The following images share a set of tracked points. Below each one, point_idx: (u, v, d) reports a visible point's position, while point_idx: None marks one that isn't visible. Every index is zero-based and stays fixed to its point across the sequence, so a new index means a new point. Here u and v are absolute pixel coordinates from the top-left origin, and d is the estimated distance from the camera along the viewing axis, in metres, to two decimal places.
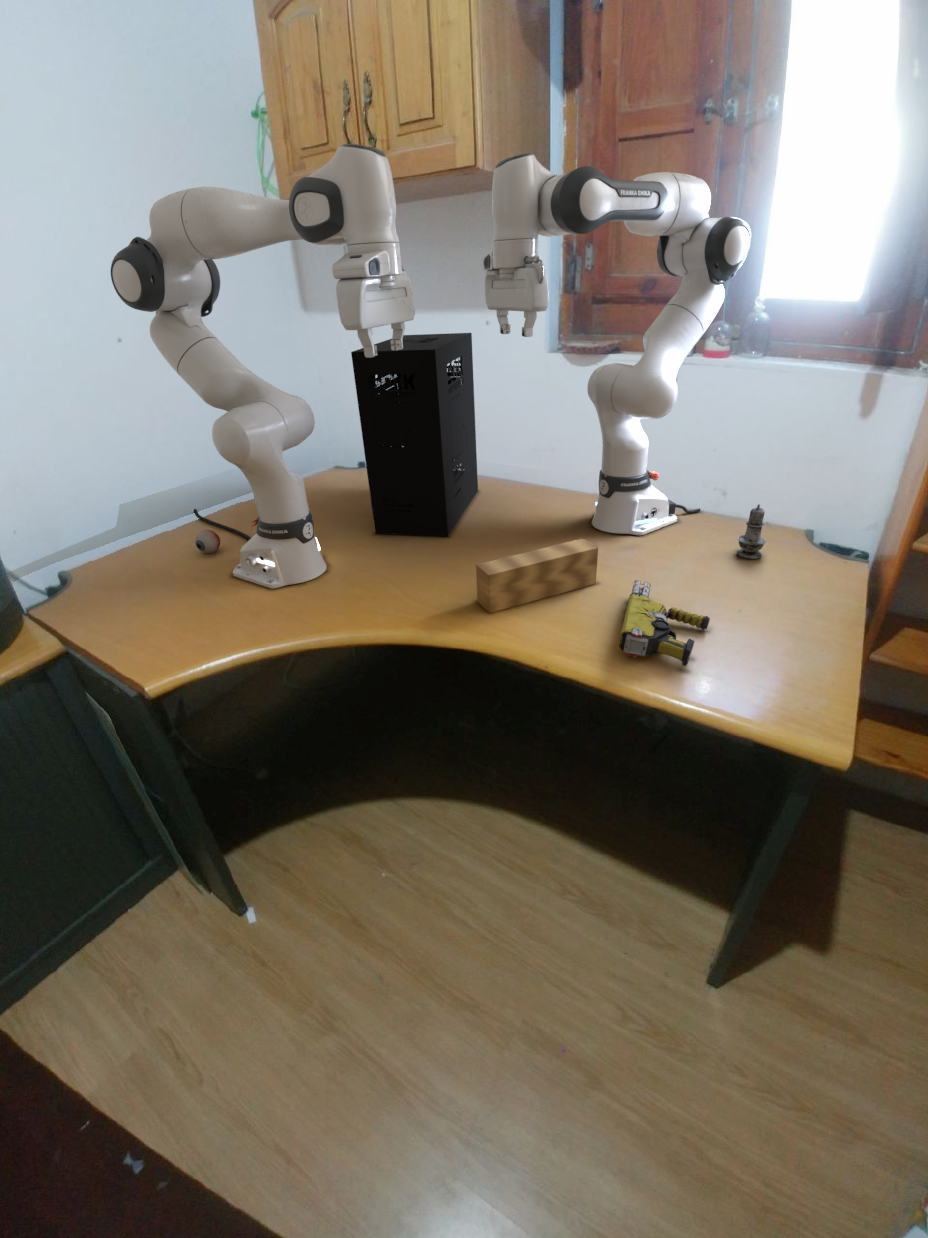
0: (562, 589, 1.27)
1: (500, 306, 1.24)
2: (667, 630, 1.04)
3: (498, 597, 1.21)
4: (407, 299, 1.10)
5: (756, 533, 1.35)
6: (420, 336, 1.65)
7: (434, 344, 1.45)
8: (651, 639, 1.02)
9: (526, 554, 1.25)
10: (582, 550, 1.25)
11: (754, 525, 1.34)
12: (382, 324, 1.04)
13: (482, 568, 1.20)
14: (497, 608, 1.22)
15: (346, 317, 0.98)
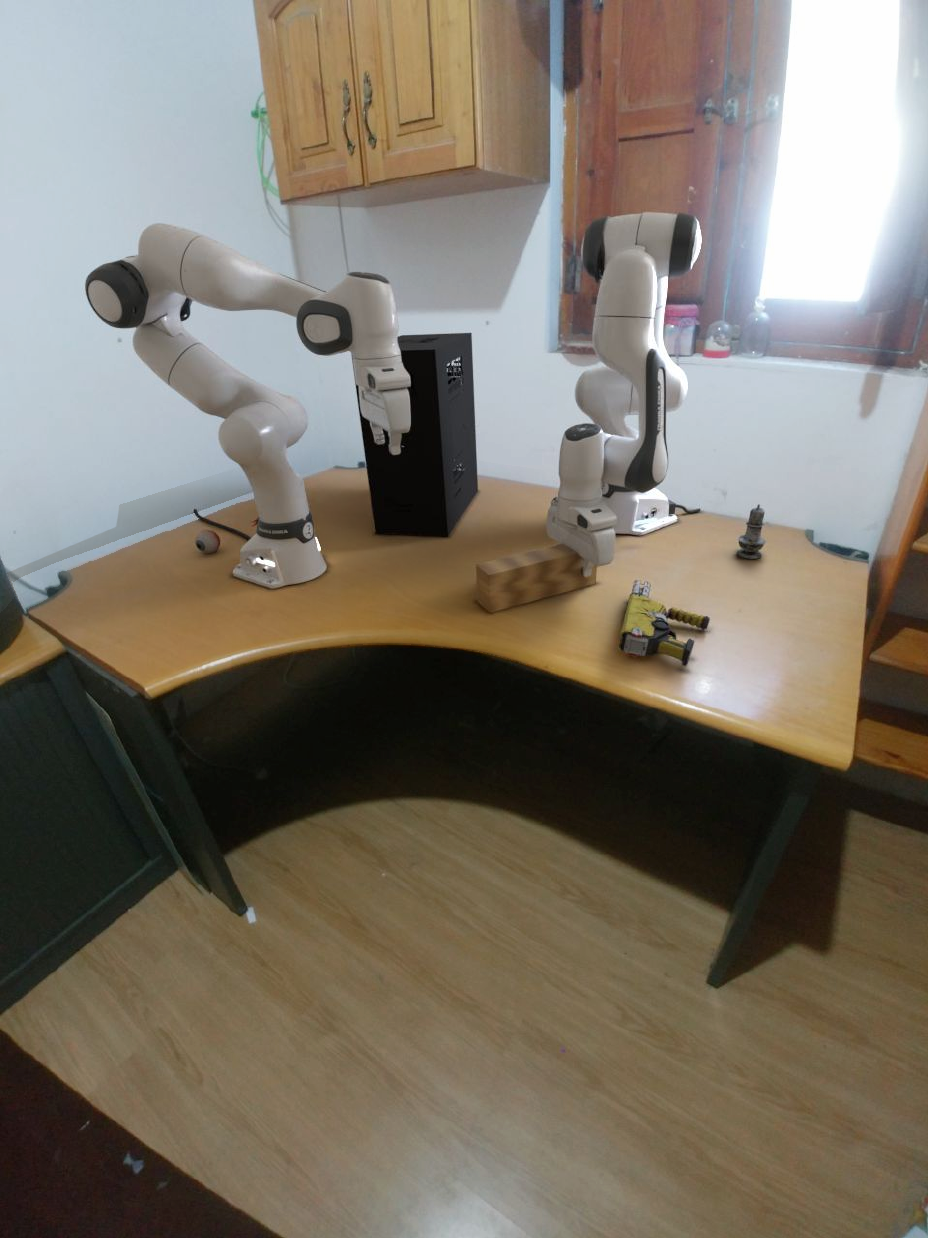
0: (562, 589, 1.27)
1: None
2: (667, 630, 1.04)
3: (498, 596, 1.21)
4: None
5: (756, 533, 1.35)
6: (420, 336, 1.65)
7: (434, 344, 1.45)
8: (651, 639, 1.02)
9: (526, 554, 1.25)
10: None
11: (754, 525, 1.34)
12: None
13: (482, 568, 1.20)
14: (497, 608, 1.22)
15: (398, 423, 1.06)
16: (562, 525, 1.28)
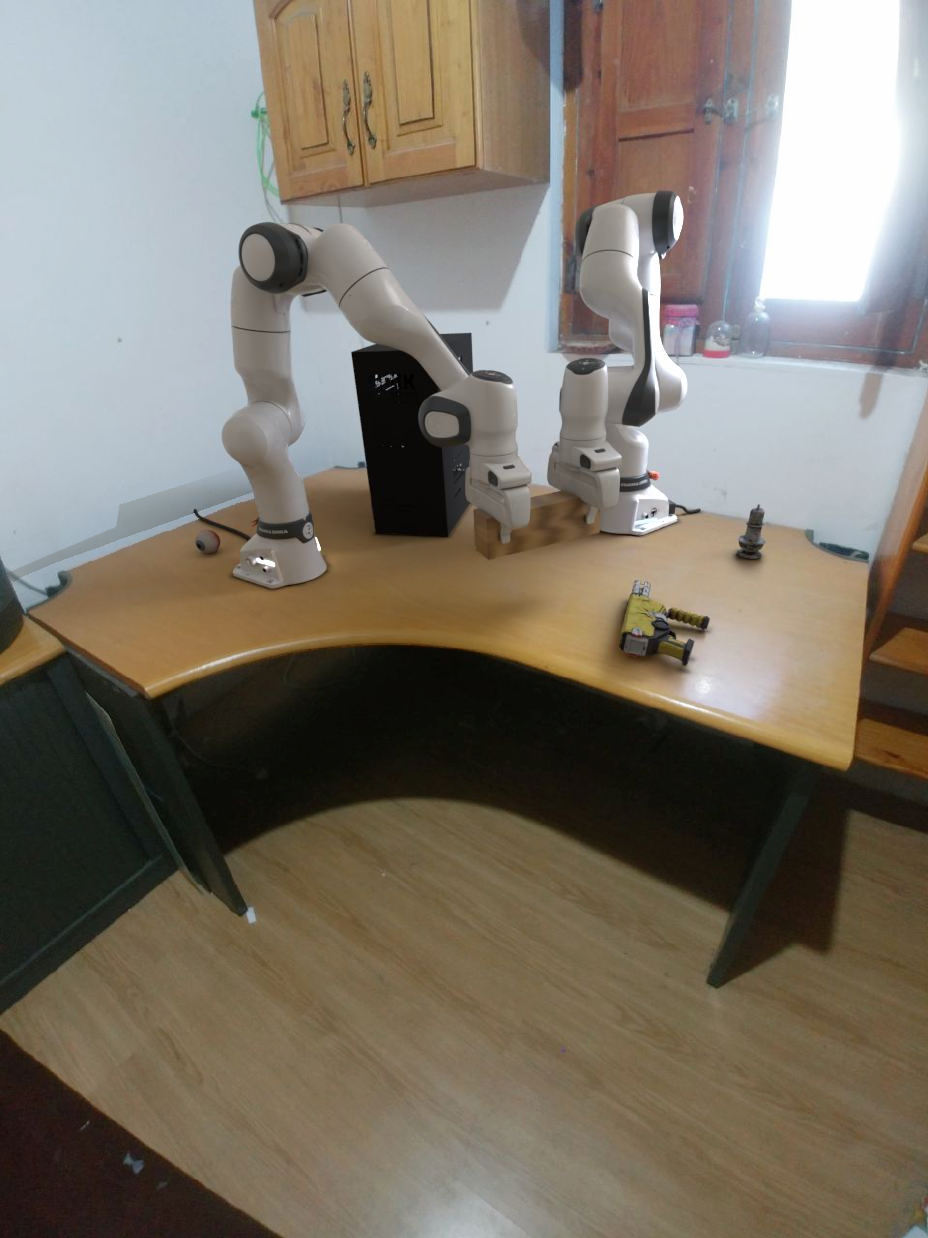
0: (564, 537, 1.21)
1: None
2: (667, 630, 1.04)
3: (496, 543, 1.15)
4: None
5: (756, 533, 1.35)
6: None
7: None
8: (651, 639, 1.02)
9: None
10: None
11: (754, 525, 1.34)
12: None
13: (480, 512, 1.15)
14: (496, 555, 1.16)
15: (518, 520, 1.06)
16: (564, 470, 1.22)
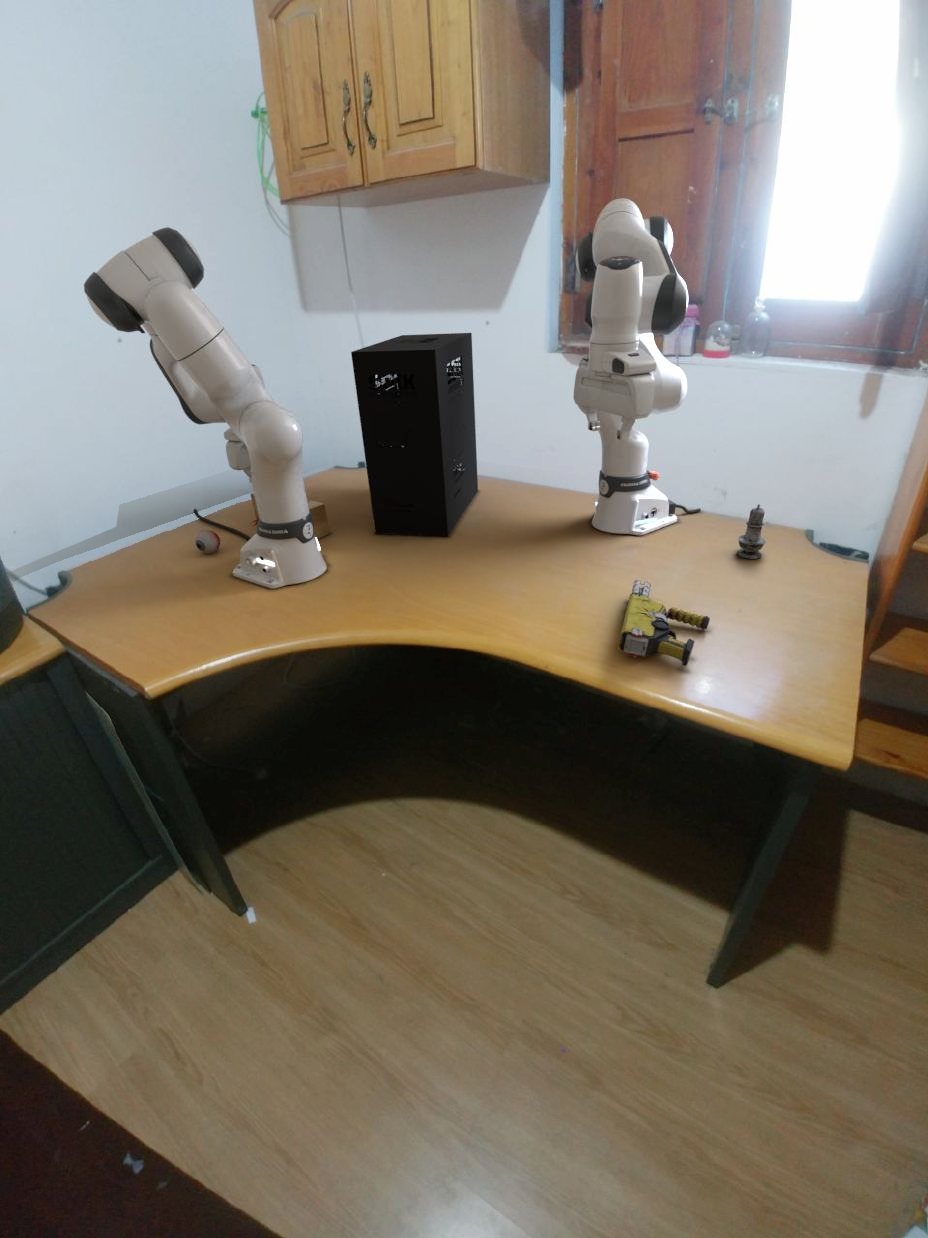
0: None
1: None
2: (667, 630, 1.04)
3: None
4: None
5: (756, 533, 1.35)
6: (420, 336, 1.65)
7: (434, 344, 1.45)
8: (651, 639, 1.02)
9: None
10: None
11: (754, 525, 1.34)
12: None
13: None
14: None
15: (231, 463, 1.60)
16: (593, 384, 1.16)
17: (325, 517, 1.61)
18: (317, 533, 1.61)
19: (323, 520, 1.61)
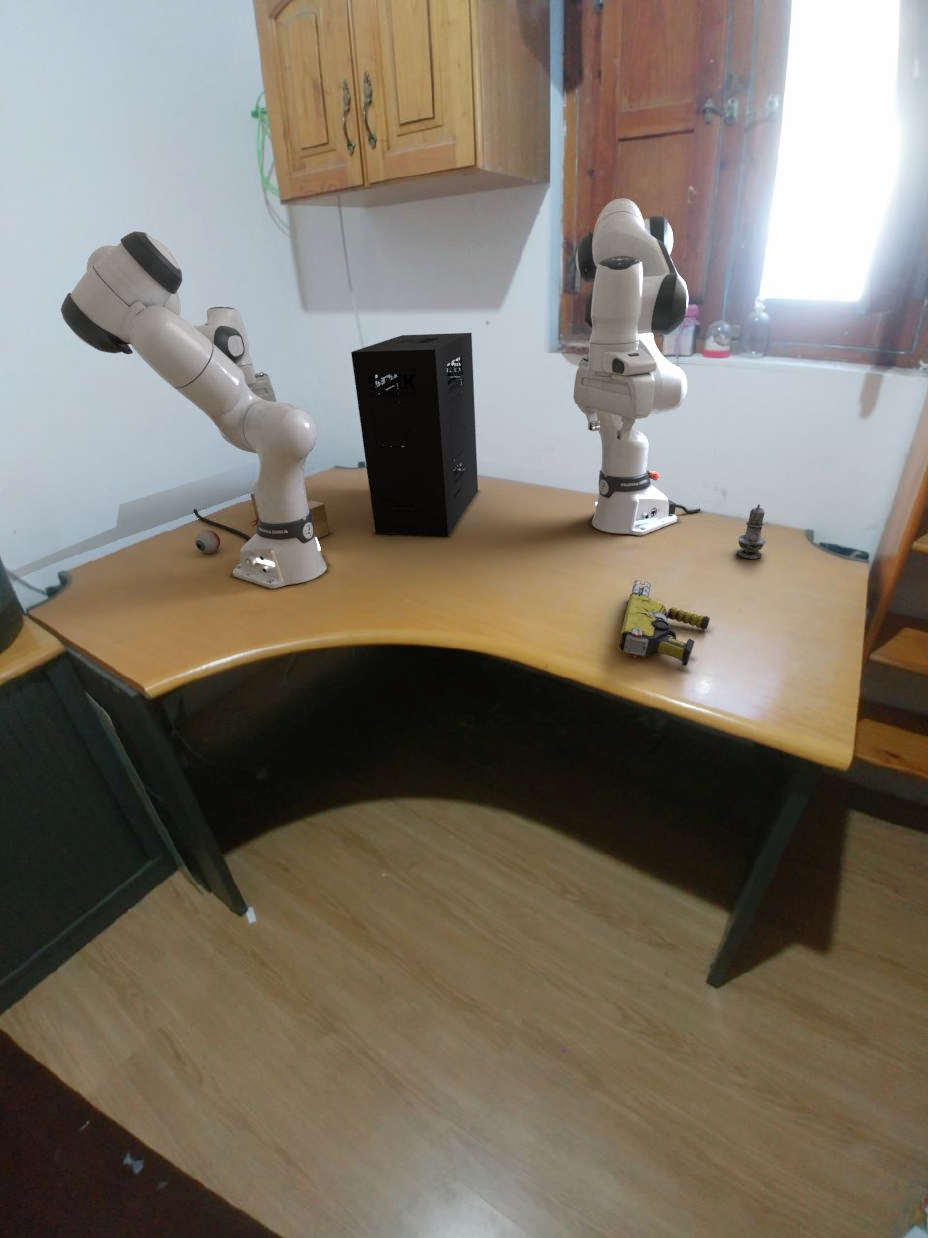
0: None
1: None
2: (667, 630, 1.04)
3: None
4: (268, 395, 1.63)
5: (756, 533, 1.35)
6: (420, 336, 1.65)
7: (434, 344, 1.45)
8: (651, 639, 1.02)
9: None
10: None
11: (754, 525, 1.34)
12: None
13: None
14: None
15: None
16: (593, 384, 1.16)
17: (325, 517, 1.61)
18: (317, 533, 1.61)
19: (323, 520, 1.61)
